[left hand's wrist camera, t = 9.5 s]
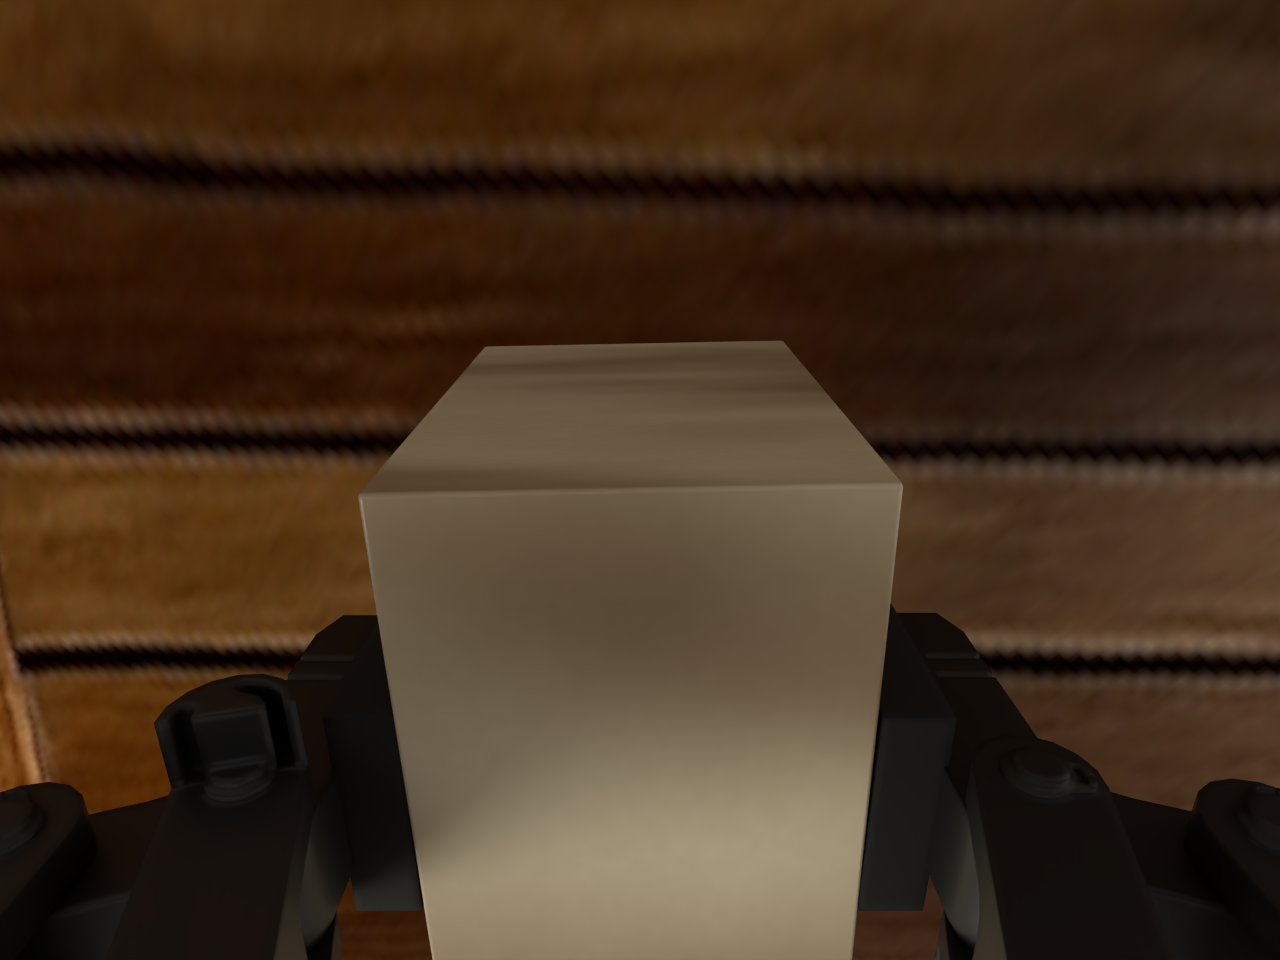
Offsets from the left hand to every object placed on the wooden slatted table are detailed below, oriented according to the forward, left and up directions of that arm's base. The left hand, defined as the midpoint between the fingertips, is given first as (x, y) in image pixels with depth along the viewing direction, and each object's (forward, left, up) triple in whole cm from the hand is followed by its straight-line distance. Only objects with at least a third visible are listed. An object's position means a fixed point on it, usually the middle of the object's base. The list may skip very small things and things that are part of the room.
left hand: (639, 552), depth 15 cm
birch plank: (0, +14, 0) cm, 14 cm away
